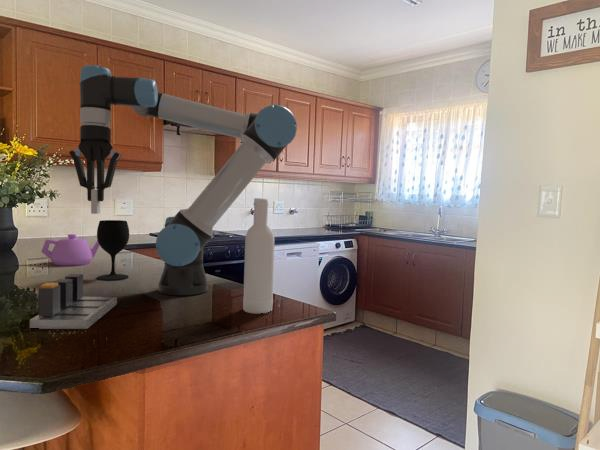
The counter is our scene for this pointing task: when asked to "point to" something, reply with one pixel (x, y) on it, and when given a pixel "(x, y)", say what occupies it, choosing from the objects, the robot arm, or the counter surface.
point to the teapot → (70, 251)
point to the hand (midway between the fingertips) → (95, 213)
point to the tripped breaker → (49, 299)
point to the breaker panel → (74, 307)
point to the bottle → (259, 262)
